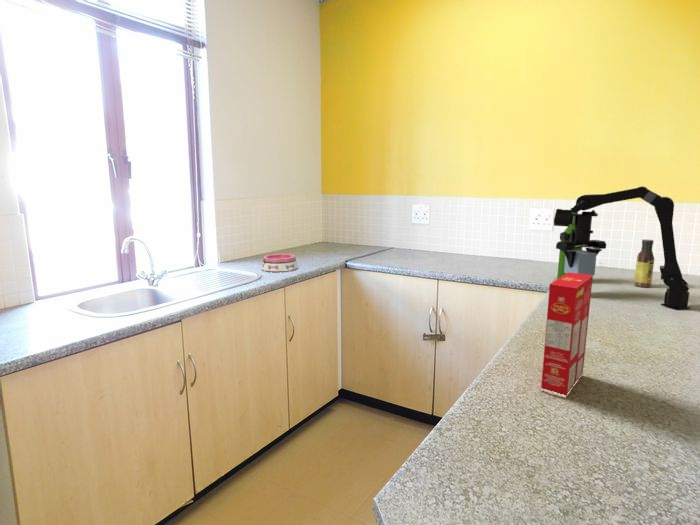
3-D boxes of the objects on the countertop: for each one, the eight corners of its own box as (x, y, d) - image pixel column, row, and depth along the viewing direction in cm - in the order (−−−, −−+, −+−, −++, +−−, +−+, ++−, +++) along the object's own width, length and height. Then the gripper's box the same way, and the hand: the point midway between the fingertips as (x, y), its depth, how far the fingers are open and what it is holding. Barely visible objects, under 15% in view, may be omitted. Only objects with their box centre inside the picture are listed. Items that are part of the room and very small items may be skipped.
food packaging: (559, 369, 114) (568, 272, 109) (582, 375, 111) (592, 275, 106) (540, 391, 103) (549, 284, 98) (565, 398, 100) (576, 288, 95)
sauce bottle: (650, 288, 191) (656, 241, 187) (632, 286, 195) (638, 240, 191) (651, 285, 196) (657, 239, 192) (634, 283, 200) (640, 238, 196)
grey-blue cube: (594, 275, 179) (596, 253, 177) (577, 276, 177) (579, 254, 175) (580, 271, 186) (582, 250, 184) (564, 272, 184) (565, 250, 183)
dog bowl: (259, 267, 240) (258, 254, 238) (294, 264, 245) (293, 252, 244) (264, 274, 223) (263, 260, 221) (301, 271, 228) (301, 258, 227)
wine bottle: (582, 283, 201) (590, 208, 194) (562, 283, 201) (568, 208, 194) (573, 278, 209) (580, 207, 203) (553, 278, 210) (559, 207, 203)
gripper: (588, 224, 188) (584, 261, 191) (548, 225, 184) (545, 264, 187) (609, 227, 177) (605, 266, 180) (567, 229, 173) (564, 269, 176)
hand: (579, 266), depth 181 cm, fingers closed on grey-blue cube, 8 cm apart
